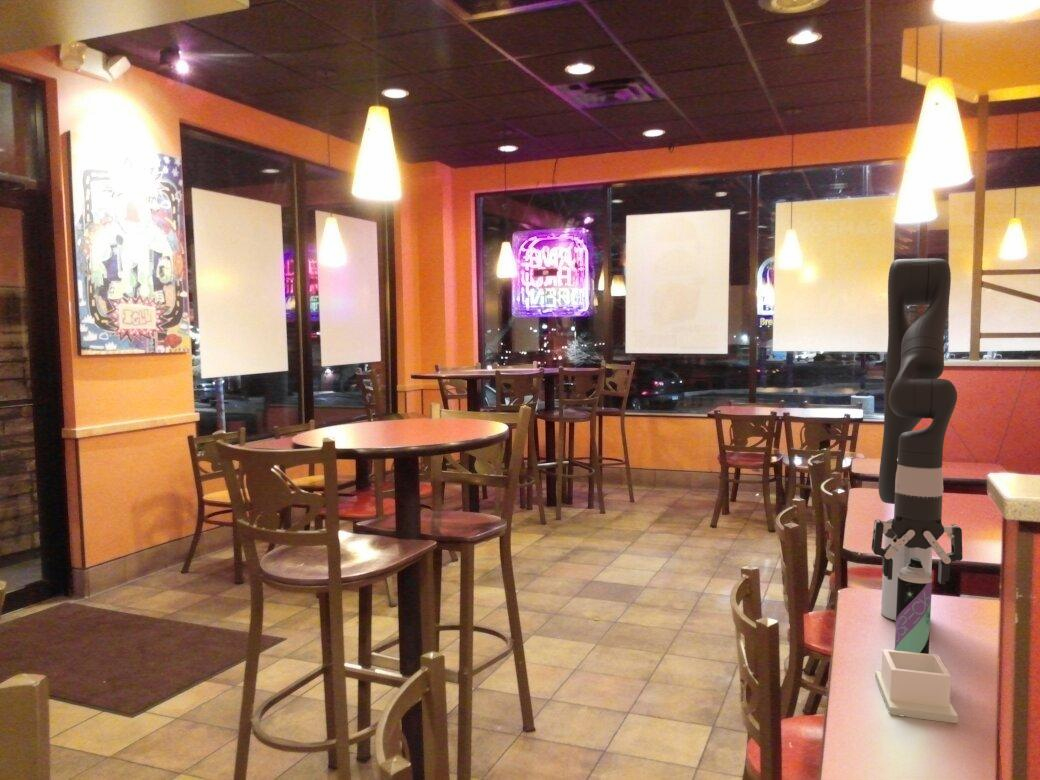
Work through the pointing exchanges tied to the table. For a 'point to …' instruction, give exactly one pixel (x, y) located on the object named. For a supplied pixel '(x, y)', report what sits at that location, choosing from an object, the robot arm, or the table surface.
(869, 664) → the table surface
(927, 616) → the spray can
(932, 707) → the can holder
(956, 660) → the table surface
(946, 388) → the robot arm
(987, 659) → the table surface
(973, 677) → the table surface
